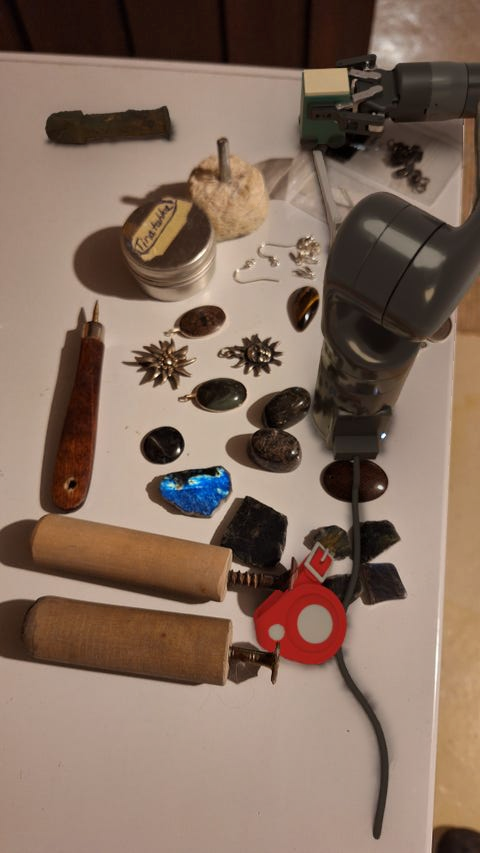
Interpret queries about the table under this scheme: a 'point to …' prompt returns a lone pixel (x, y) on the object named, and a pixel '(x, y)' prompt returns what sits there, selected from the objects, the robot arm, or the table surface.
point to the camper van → (322, 89)
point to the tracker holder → (304, 615)
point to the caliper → (327, 195)
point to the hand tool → (107, 124)
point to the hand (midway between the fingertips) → (306, 97)
